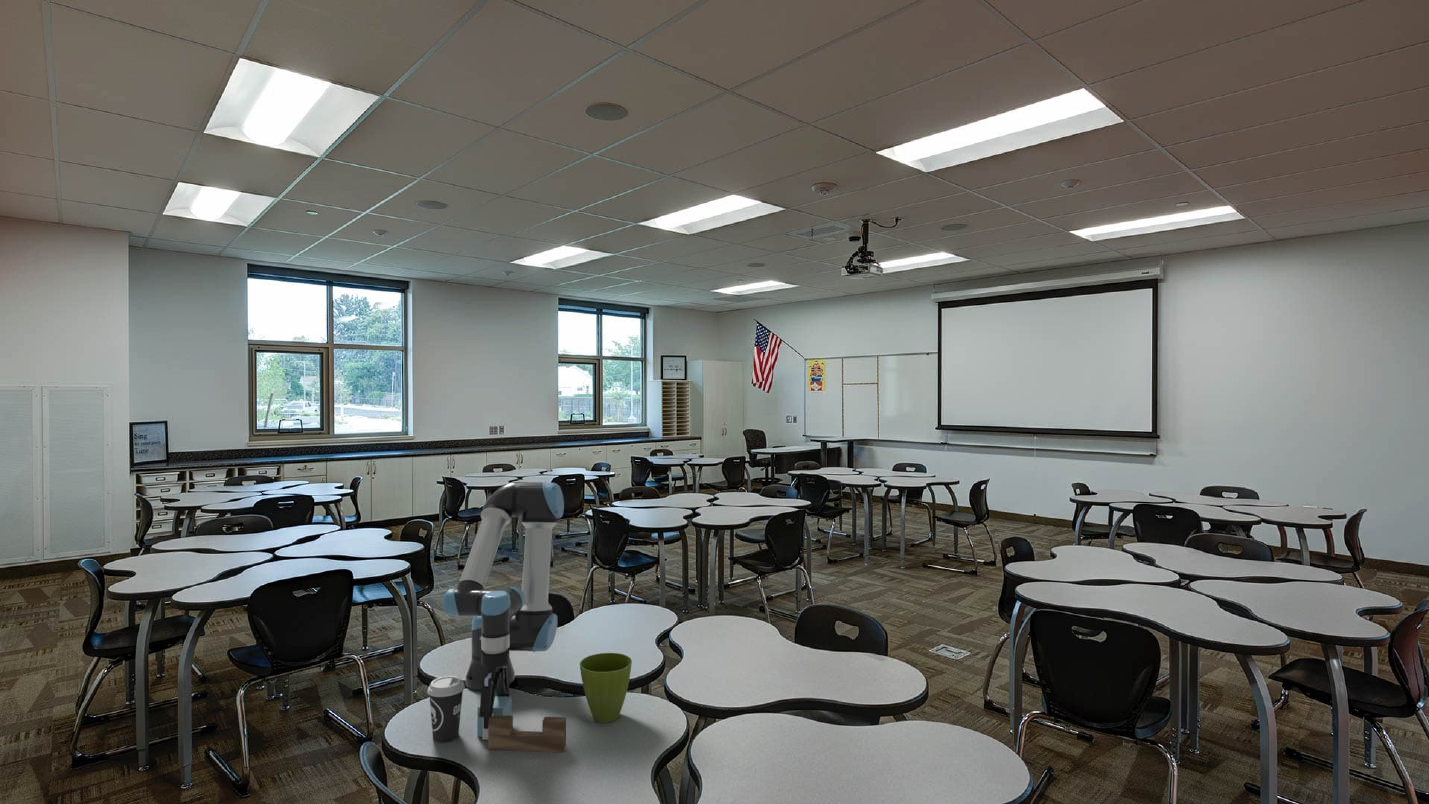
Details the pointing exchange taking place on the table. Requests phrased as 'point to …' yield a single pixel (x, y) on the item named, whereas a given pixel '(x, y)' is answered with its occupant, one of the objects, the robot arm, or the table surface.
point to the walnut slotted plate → (526, 735)
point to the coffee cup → (445, 707)
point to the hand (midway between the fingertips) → (494, 730)
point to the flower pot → (605, 684)
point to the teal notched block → (495, 711)
